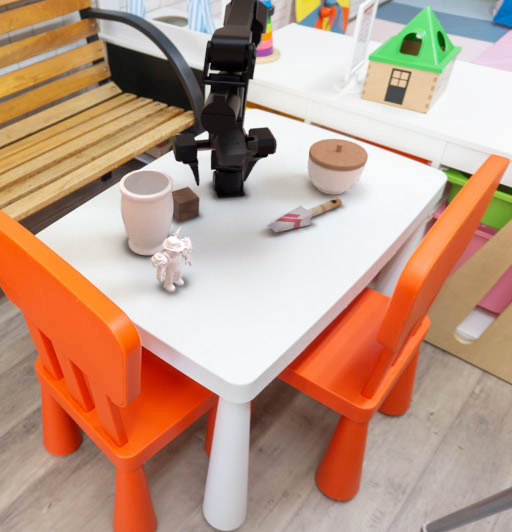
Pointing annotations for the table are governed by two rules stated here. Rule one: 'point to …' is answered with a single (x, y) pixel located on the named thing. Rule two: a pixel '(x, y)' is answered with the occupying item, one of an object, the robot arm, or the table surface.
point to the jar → (147, 209)
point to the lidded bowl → (335, 165)
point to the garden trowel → (302, 216)
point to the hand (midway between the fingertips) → (220, 182)
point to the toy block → (185, 204)
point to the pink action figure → (172, 260)
